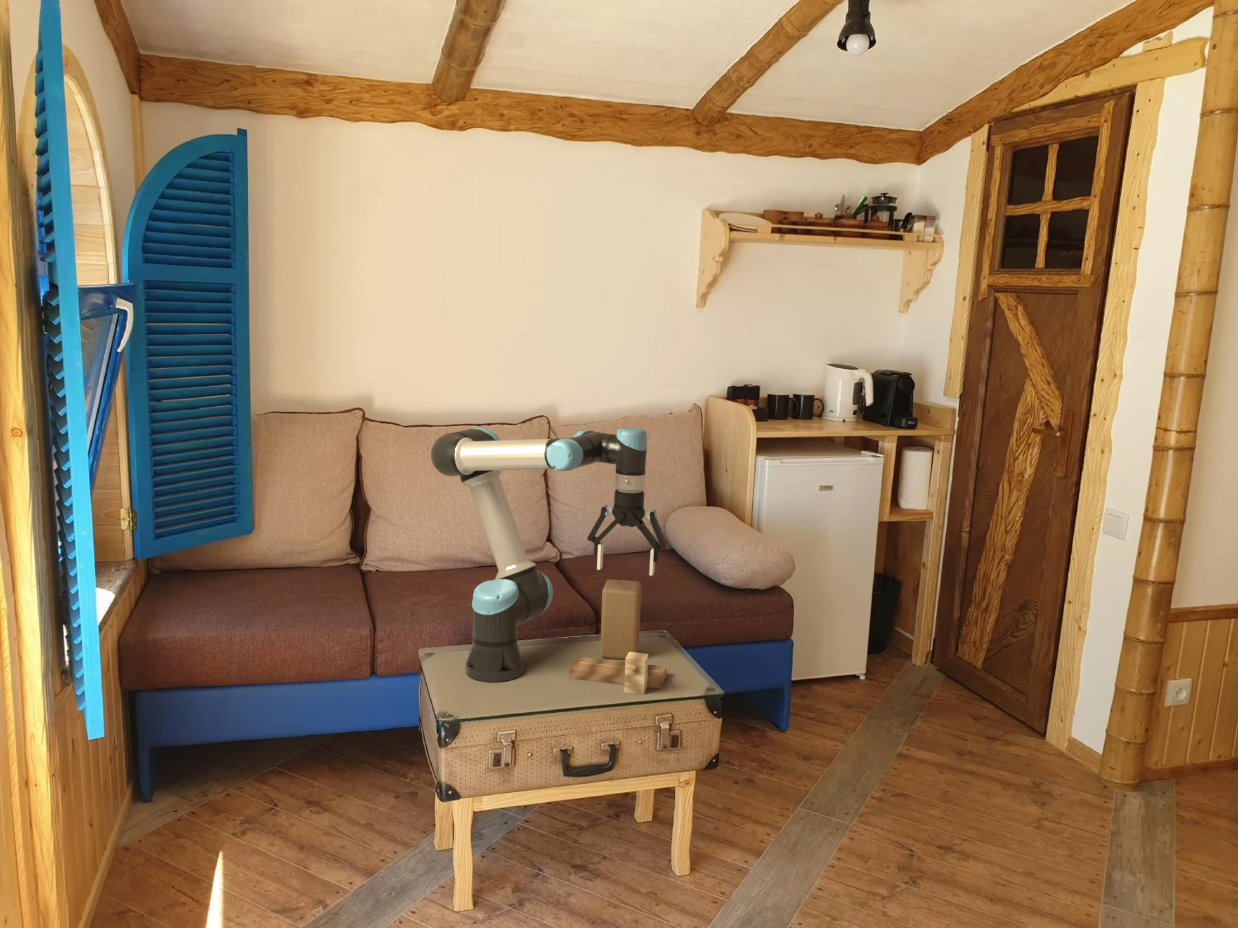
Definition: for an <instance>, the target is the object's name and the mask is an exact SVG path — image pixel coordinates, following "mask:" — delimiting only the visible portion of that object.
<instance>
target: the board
mask: <svg viewBox="0 0 1238 928" xmlns="http://www.w3.org/2000/svg"><path fill="white" fill-rule="evenodd" d="M568 670H569V671H568V672H569V675H568V678H569V679H571V680H572V679H573V680H582V681H589V682H590V681H591V682H600V683H608V684H613V685H614V684H616V685H624V686H625V661H619V660H611V659H610V660H609V659H601V658H592V657H585V656H584V657H583V656H577V657H576V659H575V661H574V662H572V665H571V666H570V668H569V669H568ZM666 677H667V666H664V665H663V666H662V665H654V664H648V676H647V688H650V689H659V690H661V689H662V685H663V683H664V681H665V678H666Z"/></svg>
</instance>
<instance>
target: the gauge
mask: <svg viewBox="0 0 1238 928" xmlns="http://www.w3.org/2000/svg"><path fill="white" fill-rule="evenodd" d="M624 662H625V685H624V689H623V690H624V693H630V694H637V695H638V694H640V695H645V693H646V690H647V688H648V687H647V676H648V665H649V654H648V653H644V652H638V653H635V652H629V653H628V655H627V657H626V659H624Z"/></svg>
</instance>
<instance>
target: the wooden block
mask: <svg viewBox="0 0 1238 928" xmlns="http://www.w3.org/2000/svg"><path fill="white" fill-rule="evenodd" d="M601 594H602V596H601V621H600V622H601V624H600V625H601V629H600V651H599V652H600V658H604V659H615V660H617V659H618V660H626V657H627V655H628V653H629V652H635V653H639V652H638V651H639V647H640V633H641V630H640V626H641V607H642V606H641V602H642V583H641V582H640V581H639V580H625V579H606V581H605V584H604V585H603V588H602V593H601Z"/></svg>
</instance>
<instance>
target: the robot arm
mask: <svg viewBox="0 0 1238 928" xmlns="http://www.w3.org/2000/svg"><path fill="white" fill-rule="evenodd" d="M647 451H648V434H647V432H646V430H645V429H643V428H638V427H628V426H627V427H620V428H618V429H617V433H616V434H614V433H606V432H598V431H594V430H579V431H577V432H576V434H574V435H573V437H572V436H571V437H564V438H563V437H561V438H557V437H556V438H536V439H535V438H534V439H533V438H532V439H507V440H506V439H503V440H502V439H500V437H499V436H498V435H497V434H496V433H495V432H494V431H492V430H490V429H488V428H484V427H479V428H478V427H477V428H476V427H473V428H469V429H465V430H459V431H458V430H457V431H454V432H453V431H452V432H448V433H445V434H443V435H441V436H439V437H438V438H437V439H436V440H435V442H434V443H433V445H432V446H431V451H430V458H431V462H432V465H433V467H434V468H435V469H436V470H437V472H438V473H440V474H441V475H444V476H447V477H459V479H460V482H461V484H462V485H464V486H466V487H467V488H469V489H470V493H471V497H472V499H473V501H474V504H475V507H476V511H477V514H478V516H479V519H480V521H481V524H482V527H483V530H484V533H485V535H486V538H487V541H488V545H489V548H490V550H491V554H492V556H493V559H494V562H495V564H496V567H497V569H498V571H497V574H496V575H495V579H493V580H486V581H483V582H481V583H480V584H478V585H477V586H476V587H475V589H474V590H473V595H472V600H471V607H472V644H471V646H470V649H469V652H468V654H467V657H466V661H465V669H464V670H465V674H466V676H468V677H469V678H471V679H474V680H476V681H481V682H487V683H488V682H489V683H491V682H493V683H496V682H507V681H511V680H513V679H516V678H519V677H520V676H521V675H522V674H523V673H524V667H525V666H524V665H525V663H524V660H523V657H522V654H521V650H520V647H519V645H518V644H519V643H518V625H519V626H520V625H521V624H523V623H525V622H527V621H529V620H530V619H532V618H537V617H538V616H540V615H541V614H542V613H544V612H545V611H546V610H548V608H549V607H550V606H551V603H552V601H553V597H554V590H553V585H552V583H551V580H550V579H549V577H548V576H547V575H545V574H544V573H543V572H542V571H539V570H538V567H537V564H536V563H535V562H533V561H532V560H530V559H528V556H527V553H526V549H525V547H524V544H523V541H522V538H521V535H520V532H519V530H518V527H517V523H516V521H515V518H514V515H513V512H512V509H511V506H510V503H509V501H508V498H507V495H506V492H505V489H504V486H503V484H502V480H501V474H502V472H503V471H516V470H517V471H519V470H525V471H526V470H555V471H557V472H567V471H573V470H575V469H577V468H581V467H585V466H589V465H591V464H596V463H600V464H601V463H603V464H610V465H615V475H614V477H615V478H614V488H615V490H614V494H613V495H614V499H613V500H614V501H613V507H610V506H608V505H607V504H605V505H603V506H602V507H601V508H600V515H599V516H598V518H597V520H596V521H595V523H594V525H593V527H592V528H591V531H590V532H589V534H588V536H587V537H586V538H587V541H589V542H591V543H593V555H594V556H595V557H596V558H597V560H596V561H597V562H596V570H598V571H600V570H601V569H602V568H603V560H604V559H603V558H604V542H602V540H603V539H604V538H605V537H606V536H607V535H608V534H609V533H610V532H611V531H612V530H613V529H614V528H615V527H616V526H617V525H618V524H619V525H620V526H621V527H629V528H634V527H636V528H637V529H638V530H639V531H640V532H641V534H642V535H643V536H644V537H645V539H646V540H647V542H648V543H649V544H650V546H651V547H652V548H651V549H650V555H649V558H650V559H649V576H651V577H653V575H654V573H655V567H656V566H655V563H658V562H659V560H660V550H662V549H666V547H667V546H668V542H667V540H666V537H665V535H664V533H663V530H662V527H661V525H660V524H659V521H658V518H657V511H656V509H652V510H645V503H644V502H645V491H644V490H645V489H646V465H647V455H648V454H647ZM610 514H612V515H613V517H614V518H615V519H614V520H613V521H611V522H610V524H609V525H608V526H607V527H606V528H605V529H604V530H603V531H602V532H601V533H599V535H598V536H596V535H597V533H598V531H599V530H600V527H602V525H603V522H604V521H605V519H606V517H607V516H609V515H610ZM644 517H646V518H647V519H648V520H649V522H650V525H651V527H652V529H653V532H654V534H655V536H654V535H653V533H652V532H651V531H650V529H649V528H648V527H647V525H646V523H645V522H644V520H643V518H644Z"/></svg>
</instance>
